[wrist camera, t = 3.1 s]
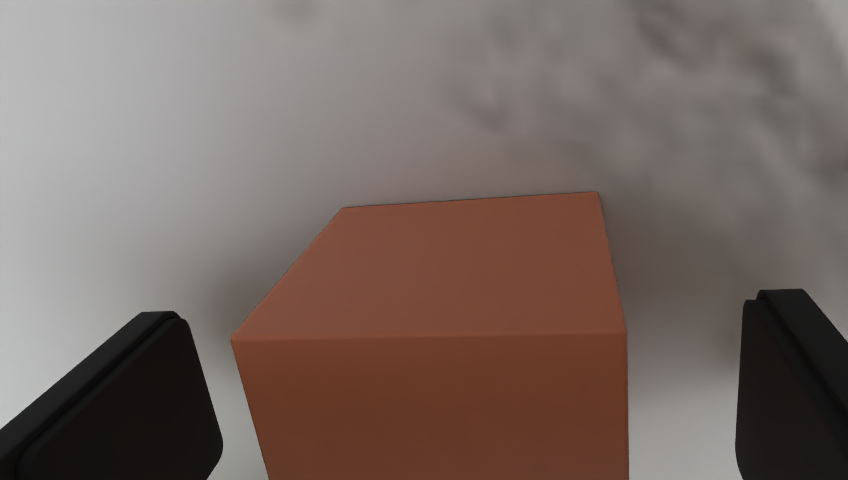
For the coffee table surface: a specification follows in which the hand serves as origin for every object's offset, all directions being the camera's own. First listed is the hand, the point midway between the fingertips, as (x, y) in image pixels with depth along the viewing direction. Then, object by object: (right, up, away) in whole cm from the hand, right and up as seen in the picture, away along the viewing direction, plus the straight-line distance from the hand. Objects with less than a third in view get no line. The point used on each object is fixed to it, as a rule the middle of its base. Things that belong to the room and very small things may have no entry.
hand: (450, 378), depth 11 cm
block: (+1, +1, +1) cm, 2 cm away
